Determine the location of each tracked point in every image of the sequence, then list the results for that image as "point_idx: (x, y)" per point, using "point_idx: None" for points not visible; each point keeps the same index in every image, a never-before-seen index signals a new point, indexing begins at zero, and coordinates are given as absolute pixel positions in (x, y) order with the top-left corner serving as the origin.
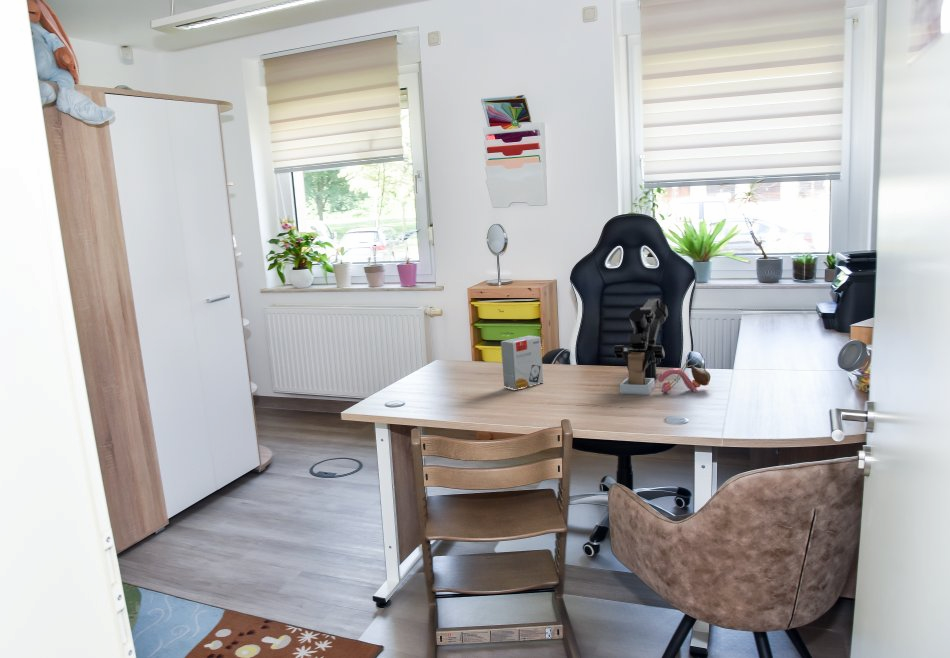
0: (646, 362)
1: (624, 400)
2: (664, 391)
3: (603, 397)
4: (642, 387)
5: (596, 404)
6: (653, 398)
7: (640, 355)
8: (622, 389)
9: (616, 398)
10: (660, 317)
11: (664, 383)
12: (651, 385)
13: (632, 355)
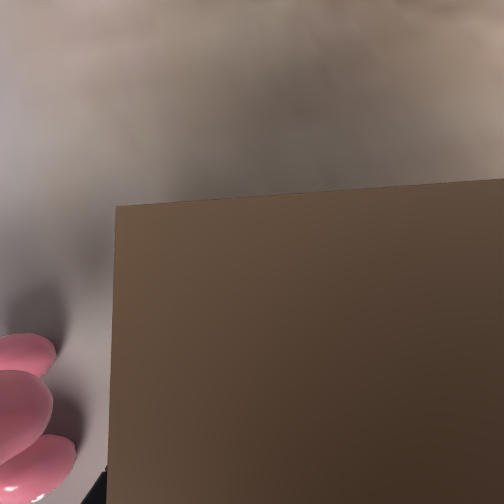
0: (107, 466)
1: (289, 112)
2: (36, 335)
3: (457, 147)
4: None
5: (421, 11)
6: (107, 192)
7: (160, 246)
8: None
9: (360, 143)
10: None
11: (24, 467)
12: None
13: (497, 180)
